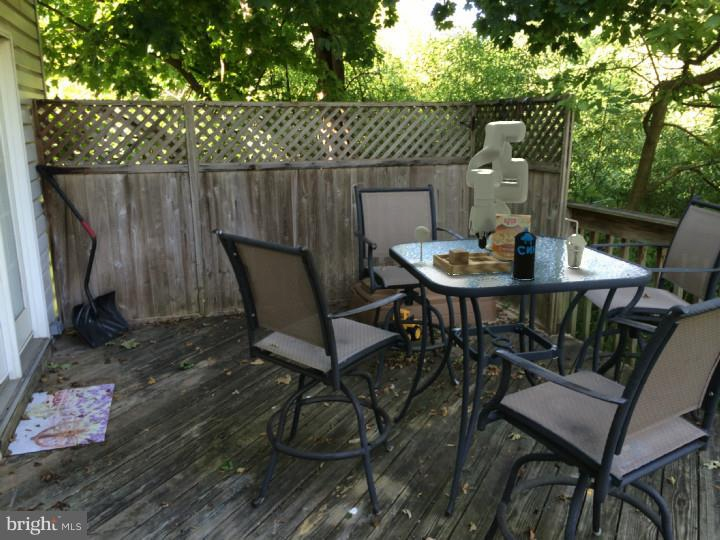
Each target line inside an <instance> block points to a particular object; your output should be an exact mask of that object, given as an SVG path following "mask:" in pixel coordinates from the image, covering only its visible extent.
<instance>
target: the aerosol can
mask: <svg viewBox="0 0 720 540" xmlns="http://www.w3.org/2000/svg"><path fill="white" fill-rule="evenodd" d="M528 231H529V226H523V232H520V233H518V234H517V235H516V236H515V237H514V238H515V244H514V261H513V263H512V264H513V267H512V276H513V277H514V278H517V279H532V278H534V279H535V262H536V247H537V238H538V237H537V236H536V235H535V234H534V233H532V232H531V231H530V232H528Z"/></svg>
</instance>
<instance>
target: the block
mask: <svg viewBox="0 0 720 540" xmlns="http://www.w3.org/2000/svg"><path fill="white" fill-rule="evenodd" d="M469 253H470V251H468V250H467V249H464V248H457V249H455V248H454V249H449V250H448V254H449V263H450V264H451V265H465V264H469Z"/></svg>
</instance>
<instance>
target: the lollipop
mask: <svg viewBox="0 0 720 540" xmlns="http://www.w3.org/2000/svg"><path fill="white" fill-rule="evenodd" d="M430 233H431V232H430V230H429V228H428V227H426V226H422V225H420V226H417V227H416V228H415V229H414V231H413V238H414V240H415V241H416V242H417V243H420V261H423V243H425V242H427V241H428V239H429V238H430V235H431V234H430Z"/></svg>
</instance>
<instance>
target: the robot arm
mask: <svg viewBox="0 0 720 540" xmlns="http://www.w3.org/2000/svg"><path fill="white" fill-rule="evenodd" d="M484 130H485V131H484V132H485V139H484V142H483V147H482V149H481V150H479V151H478V152H477V153H475V155H474V156H473V157H472V158H471V159H470V160H469V163H468V167H467V170H466V175H465V182H466V185H467V186H468V187H470V188H473V192H474V193H473V206H471V208H470V213H469V220H468V221H469V222H468V229H469V235H470V236H476V238H477V239H478V240H477V243H478V244H477V246H478V248H479V249H481V250H485V249H486V250H488V251H492V235H493V234H494V233H496V230H495V229H496V214H512V213H511V209H510V208H509V207H508V205H507V204H508V203H509V204H510V203H511V204H523V203H525V202H526V201H527V199H528V193H529V192H528V191H529V189H528V187H529V186H528V185H529V164H528V161H527V160H526V159H524V158H513V156H512V155H513V154H512V153H513V151H512V150H513V147H512V145H511V144H510V143H520V142H522V141H524V139H525V137H526V133H527V128H526V124H525V123H524V122H523V121H493V122H489V123H487V124H486V125H485V128H484ZM490 163H492V165H491V166H492V167H491V168H480V167H482V166H484V165H487V164H490ZM503 180H509V181H503ZM510 180H513V182H512V181H510ZM514 180H515V181H514Z"/></svg>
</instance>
